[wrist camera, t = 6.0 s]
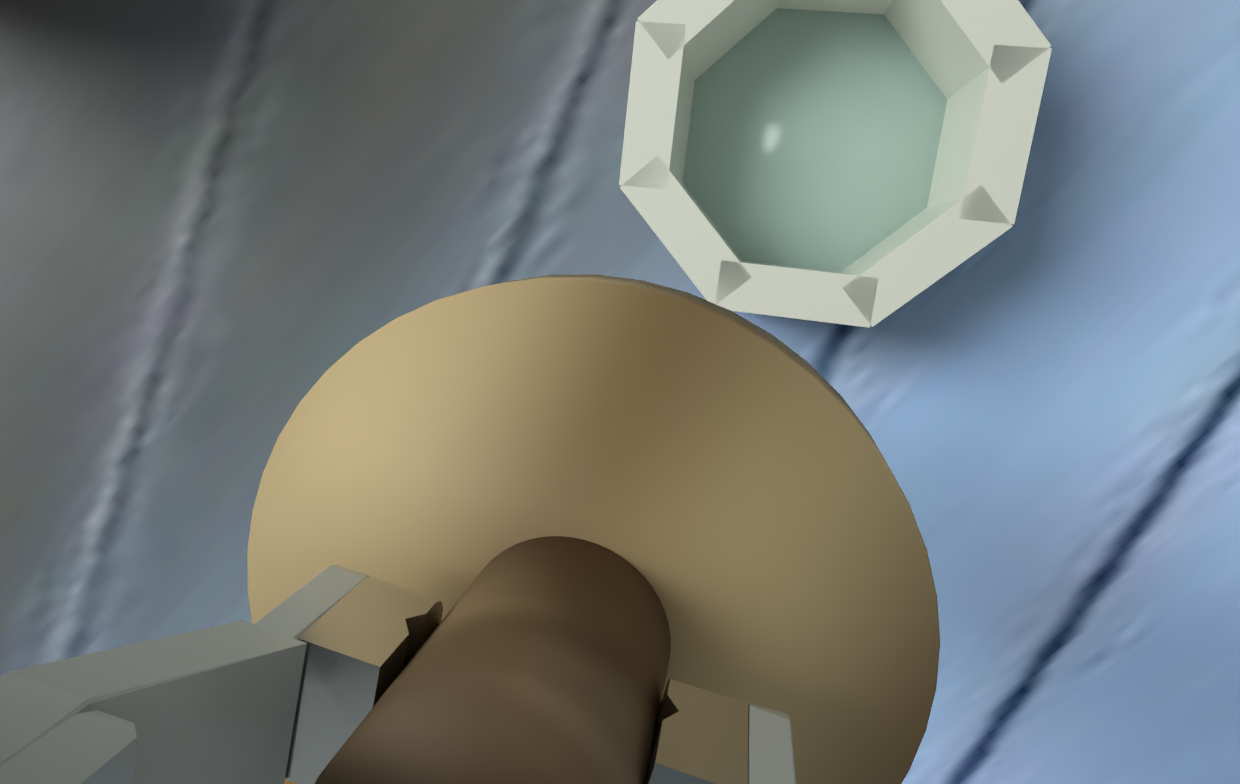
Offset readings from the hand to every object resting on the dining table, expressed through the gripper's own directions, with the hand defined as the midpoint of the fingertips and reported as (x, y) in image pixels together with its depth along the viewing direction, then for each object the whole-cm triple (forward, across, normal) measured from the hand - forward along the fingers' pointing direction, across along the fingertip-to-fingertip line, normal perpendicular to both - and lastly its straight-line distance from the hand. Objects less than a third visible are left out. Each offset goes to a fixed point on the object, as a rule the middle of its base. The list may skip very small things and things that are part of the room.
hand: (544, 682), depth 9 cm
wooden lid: (+2, 0, 0) cm, 2 cm away
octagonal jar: (+19, +2, +9) cm, 21 cm away
